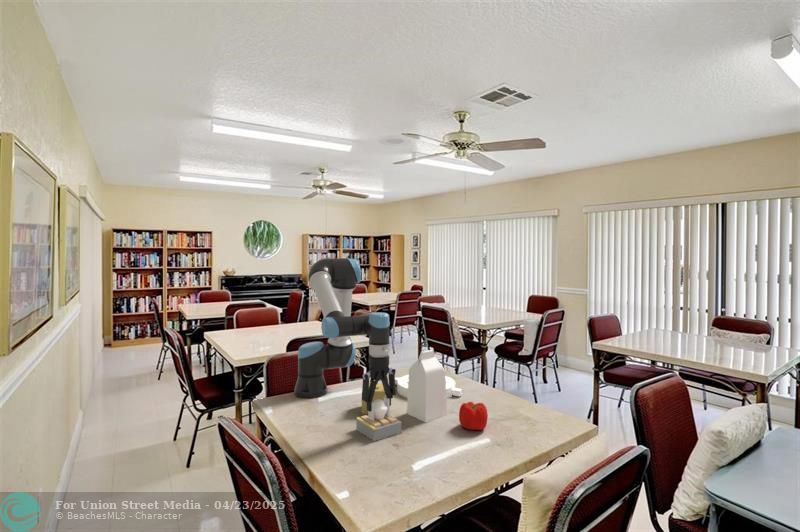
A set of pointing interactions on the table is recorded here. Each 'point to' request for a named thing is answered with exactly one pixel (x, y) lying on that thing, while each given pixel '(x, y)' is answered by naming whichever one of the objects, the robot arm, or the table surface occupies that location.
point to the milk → (427, 388)
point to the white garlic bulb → (379, 409)
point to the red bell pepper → (473, 416)
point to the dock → (378, 427)
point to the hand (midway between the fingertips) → (378, 417)
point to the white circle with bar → (450, 383)
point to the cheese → (374, 397)
